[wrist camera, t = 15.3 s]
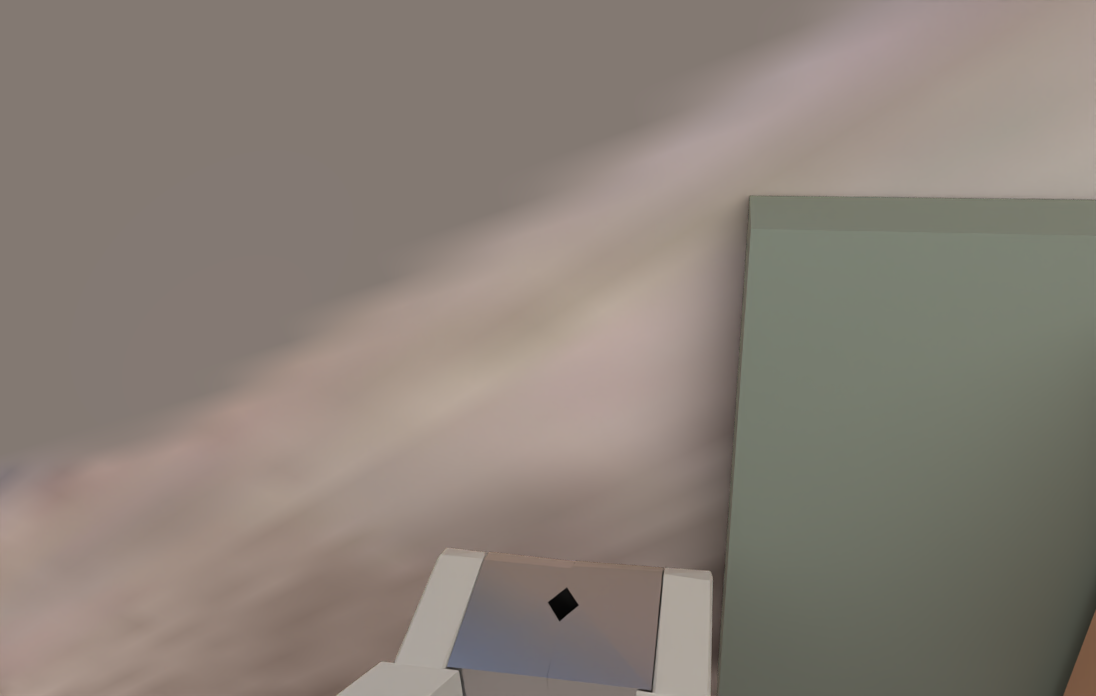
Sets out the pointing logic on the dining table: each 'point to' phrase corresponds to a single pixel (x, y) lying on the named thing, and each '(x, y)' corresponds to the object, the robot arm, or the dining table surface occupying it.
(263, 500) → the dining table surface
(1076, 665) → the cap
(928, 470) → the grey slotted holder
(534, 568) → the robot arm
